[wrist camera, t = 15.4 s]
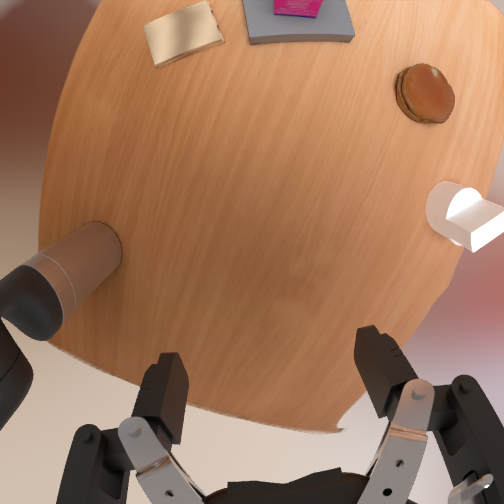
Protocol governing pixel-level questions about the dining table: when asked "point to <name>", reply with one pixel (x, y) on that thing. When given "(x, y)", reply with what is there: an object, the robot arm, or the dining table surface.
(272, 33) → the dock
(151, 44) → the block
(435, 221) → the cylinder with rectangular tab
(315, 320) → the dining table surface
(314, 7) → the supplement box
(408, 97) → the burger
